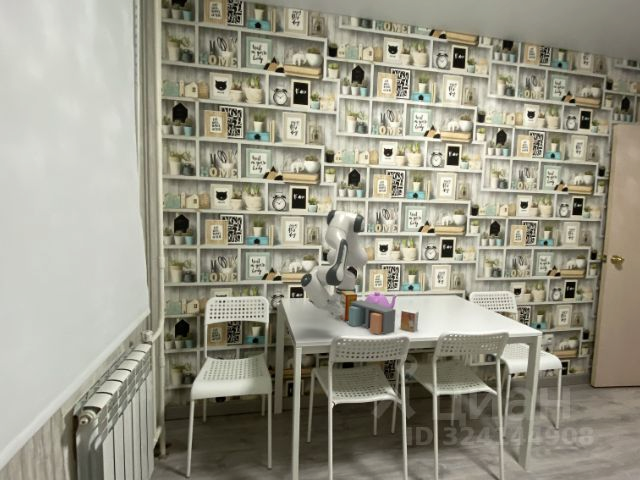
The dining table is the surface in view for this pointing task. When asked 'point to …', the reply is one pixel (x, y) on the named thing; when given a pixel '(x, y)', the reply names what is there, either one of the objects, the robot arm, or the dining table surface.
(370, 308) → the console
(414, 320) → the small box
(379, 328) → the orange rounded block
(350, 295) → the baking soda box
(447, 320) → the dining table surface
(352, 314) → the teal rectangular block
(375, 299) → the teapot
